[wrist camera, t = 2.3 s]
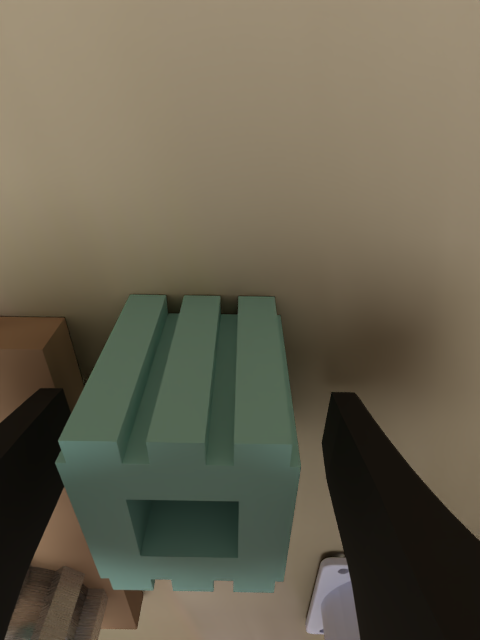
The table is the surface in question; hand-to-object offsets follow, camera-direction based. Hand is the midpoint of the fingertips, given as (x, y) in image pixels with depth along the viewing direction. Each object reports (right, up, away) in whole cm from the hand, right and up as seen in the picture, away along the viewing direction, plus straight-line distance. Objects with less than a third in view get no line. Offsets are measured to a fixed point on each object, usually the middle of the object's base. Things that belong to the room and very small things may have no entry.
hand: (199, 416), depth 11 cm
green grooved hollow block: (0, +1, +2) cm, 2 cm away
